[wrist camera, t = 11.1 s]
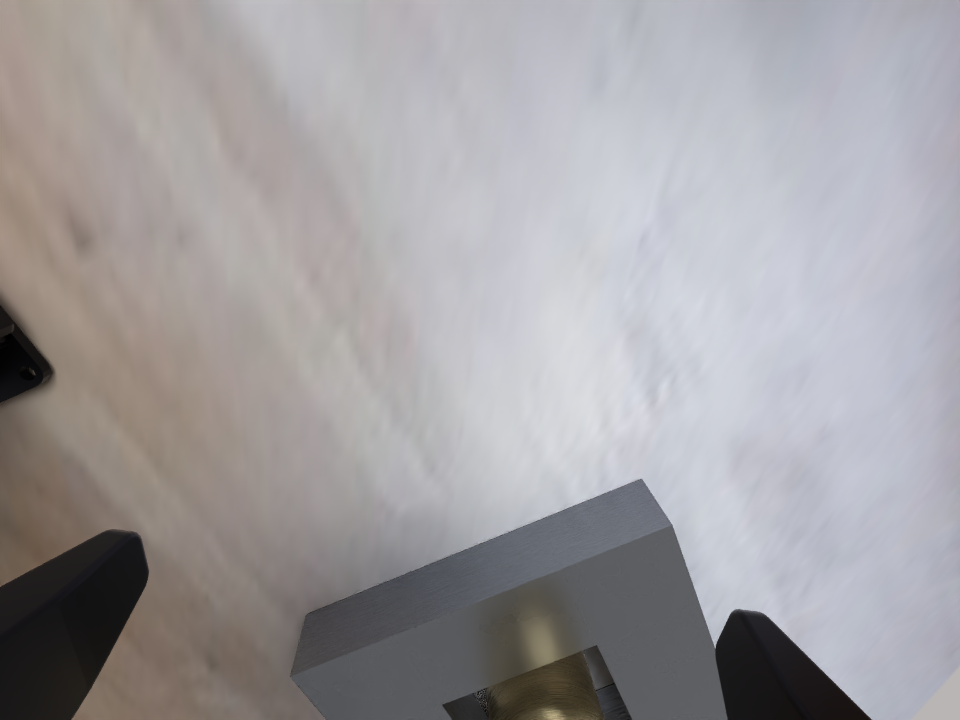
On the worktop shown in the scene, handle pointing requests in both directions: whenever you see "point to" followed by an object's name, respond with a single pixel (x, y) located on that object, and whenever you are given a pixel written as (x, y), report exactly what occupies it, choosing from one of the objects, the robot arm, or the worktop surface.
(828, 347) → the worktop surface
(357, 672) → the plate
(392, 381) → the worktop surface
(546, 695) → the brass bushing
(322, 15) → the worktop surface
